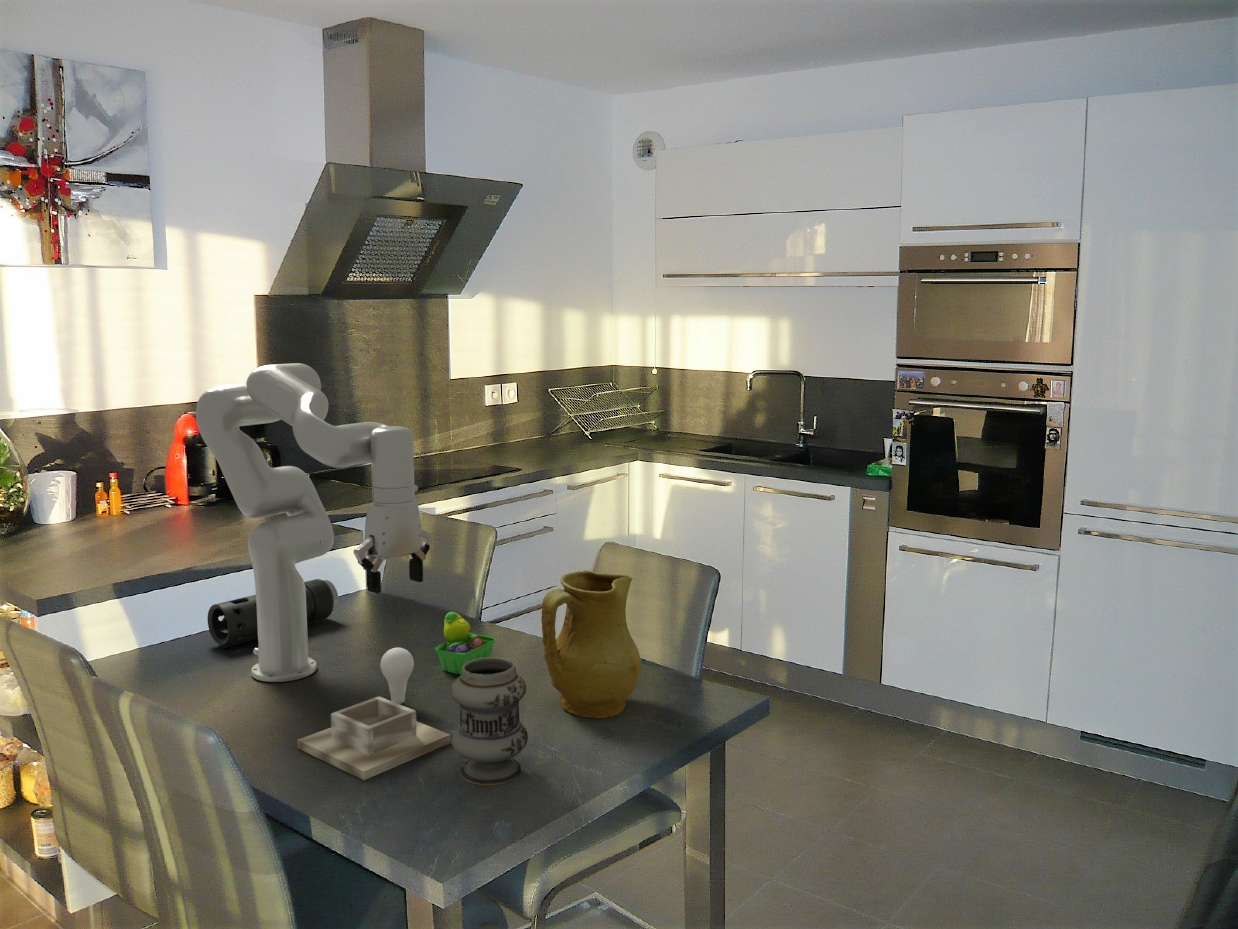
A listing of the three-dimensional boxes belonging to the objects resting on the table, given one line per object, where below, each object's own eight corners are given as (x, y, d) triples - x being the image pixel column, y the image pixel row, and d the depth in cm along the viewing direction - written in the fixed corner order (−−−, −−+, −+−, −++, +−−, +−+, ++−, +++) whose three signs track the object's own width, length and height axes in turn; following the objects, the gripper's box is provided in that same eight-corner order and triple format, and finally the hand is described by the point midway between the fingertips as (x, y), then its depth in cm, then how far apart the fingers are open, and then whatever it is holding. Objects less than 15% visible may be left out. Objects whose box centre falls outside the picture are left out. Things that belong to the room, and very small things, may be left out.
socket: (297, 748, 171) (296, 714, 170) (383, 715, 185) (382, 684, 184) (364, 780, 160) (363, 744, 159) (450, 743, 174) (449, 709, 173)
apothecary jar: (463, 753, 170) (462, 650, 167) (534, 757, 169) (534, 653, 166) (443, 787, 158) (442, 677, 155) (519, 791, 157) (519, 680, 154)
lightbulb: (417, 698, 193) (416, 643, 191) (411, 711, 187) (410, 654, 185) (385, 698, 193) (383, 643, 191) (378, 711, 187) (376, 654, 185)
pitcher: (644, 723, 183) (647, 589, 179) (541, 725, 181) (541, 590, 177) (636, 688, 200) (638, 564, 196) (541, 689, 198) (541, 565, 194)
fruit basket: (463, 678, 204) (462, 624, 202) (429, 670, 208) (427, 617, 206) (497, 661, 213) (496, 610, 212) (463, 654, 218) (463, 603, 216)
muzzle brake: (207, 645, 222) (205, 599, 220) (317, 615, 243) (316, 573, 242) (231, 654, 216) (228, 608, 214) (341, 623, 237) (340, 581, 236)
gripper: (417, 486, 193) (418, 573, 195) (340, 499, 179) (343, 592, 182) (443, 490, 188) (445, 580, 191) (367, 504, 175) (370, 600, 177)
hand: (395, 586), depth 186 cm, fingers open, 9 cm apart
